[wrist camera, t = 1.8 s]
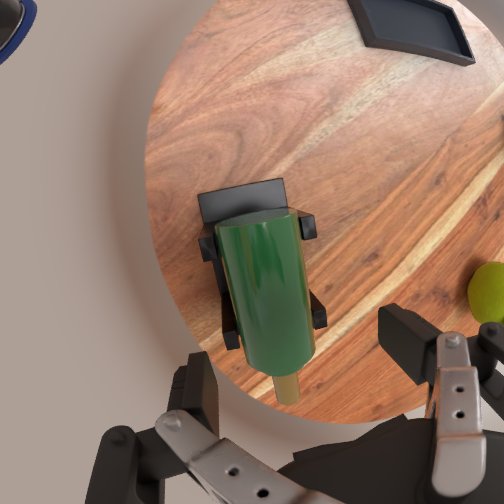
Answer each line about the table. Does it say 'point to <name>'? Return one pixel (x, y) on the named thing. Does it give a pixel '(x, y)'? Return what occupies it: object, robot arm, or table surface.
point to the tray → (413, 28)
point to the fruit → (487, 293)
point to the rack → (235, 204)
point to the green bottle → (270, 294)
